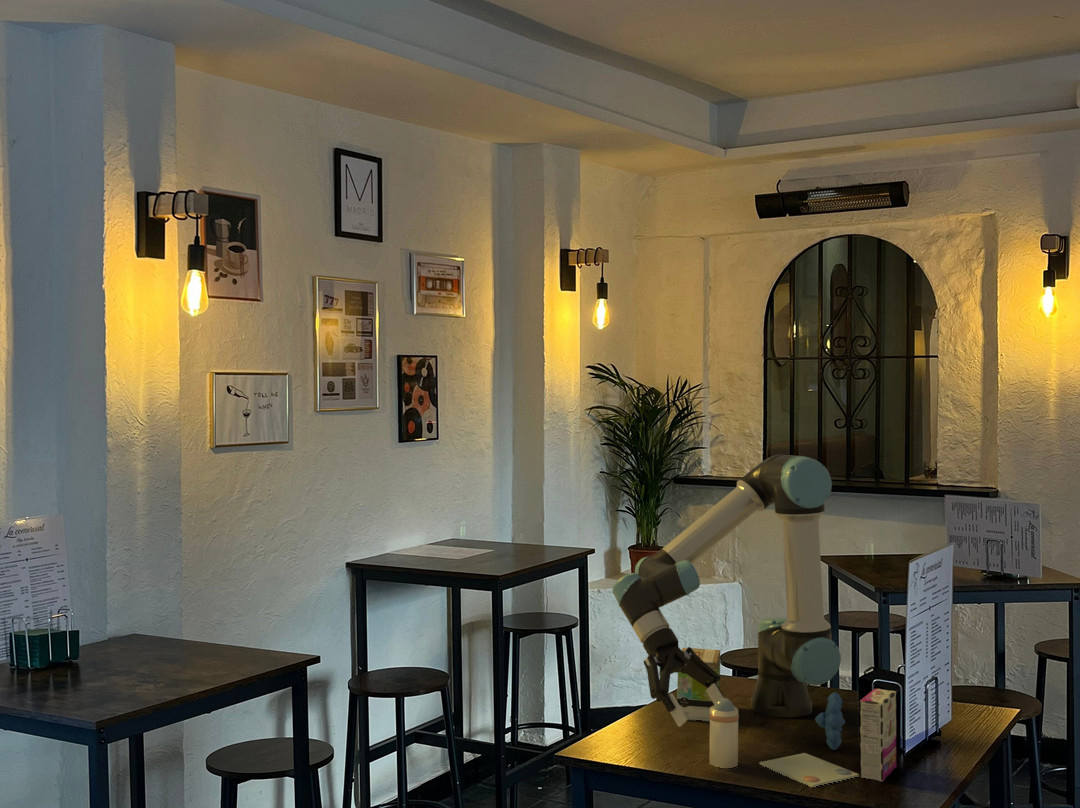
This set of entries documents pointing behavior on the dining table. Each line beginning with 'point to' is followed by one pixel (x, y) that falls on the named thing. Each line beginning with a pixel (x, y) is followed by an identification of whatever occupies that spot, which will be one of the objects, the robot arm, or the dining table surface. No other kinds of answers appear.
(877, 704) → the candy bar box
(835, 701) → the grapes
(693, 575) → the robot arm
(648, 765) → the dining table surface
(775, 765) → the card
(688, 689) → the tea box
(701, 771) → the dining table surface
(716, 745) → the ball tube
